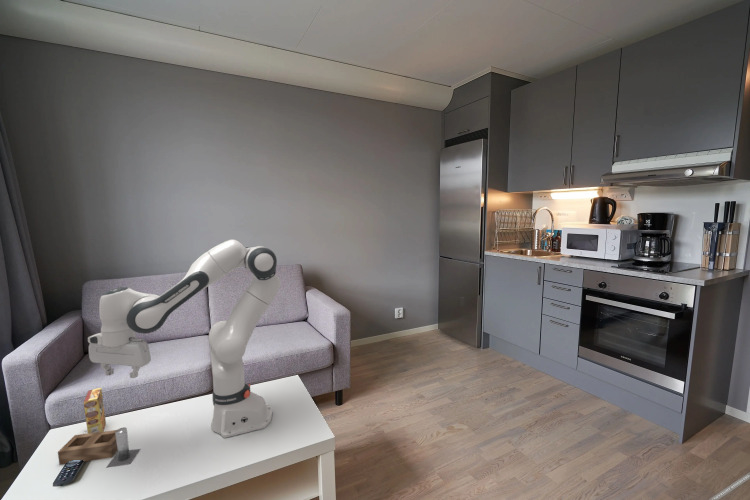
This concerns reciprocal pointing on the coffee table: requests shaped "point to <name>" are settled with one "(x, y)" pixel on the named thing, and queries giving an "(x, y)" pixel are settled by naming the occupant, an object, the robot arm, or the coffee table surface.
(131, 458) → the mat
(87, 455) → the socket block
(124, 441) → the peg
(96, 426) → the candy box
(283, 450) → the coffee table surface
